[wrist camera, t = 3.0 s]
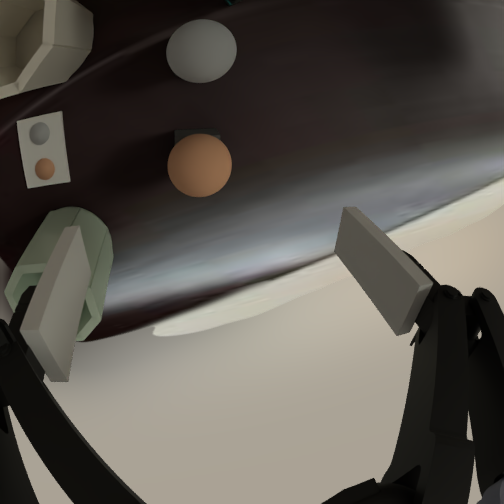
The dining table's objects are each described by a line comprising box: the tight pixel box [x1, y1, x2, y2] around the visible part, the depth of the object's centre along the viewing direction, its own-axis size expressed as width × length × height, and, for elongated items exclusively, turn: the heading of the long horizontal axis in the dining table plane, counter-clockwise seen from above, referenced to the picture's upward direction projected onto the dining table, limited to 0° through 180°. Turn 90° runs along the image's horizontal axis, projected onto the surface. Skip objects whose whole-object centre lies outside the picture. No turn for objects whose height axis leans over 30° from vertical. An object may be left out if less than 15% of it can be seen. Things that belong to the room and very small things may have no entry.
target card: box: [17, 111, 71, 188], centre depth 24 cm, size 7×5×1 cm
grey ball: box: [166, 19, 237, 83], centre depth 19 cm, size 5×5×5 cm
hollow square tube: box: [175, 128, 220, 145], centre depth 27 cm, size 4×4×3 cm
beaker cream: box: [0, 0, 94, 99], centre depth 14 cm, size 9×9×10 cm
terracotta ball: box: [168, 134, 232, 197], centre depth 24 cm, size 5×5×5 cm
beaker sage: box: [4, 206, 114, 341], centre depth 26 cm, size 9×9×10 cm
